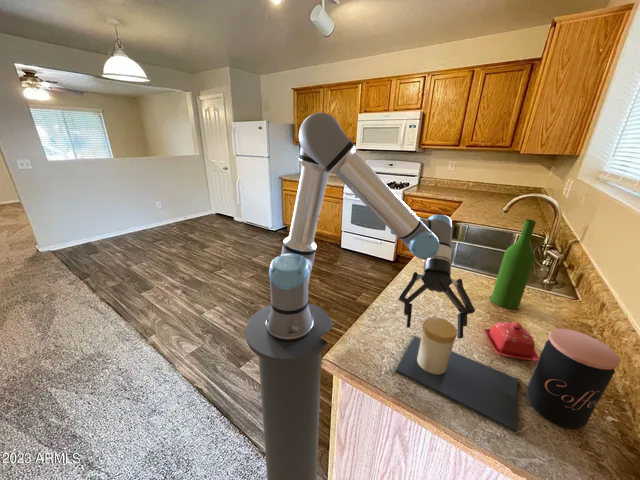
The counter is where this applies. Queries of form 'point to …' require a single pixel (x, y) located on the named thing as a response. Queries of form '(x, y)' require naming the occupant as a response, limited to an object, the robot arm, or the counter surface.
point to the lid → (439, 330)
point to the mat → (468, 385)
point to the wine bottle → (515, 270)
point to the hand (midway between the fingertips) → (433, 332)
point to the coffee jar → (571, 377)
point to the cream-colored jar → (434, 355)
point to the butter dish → (512, 341)
